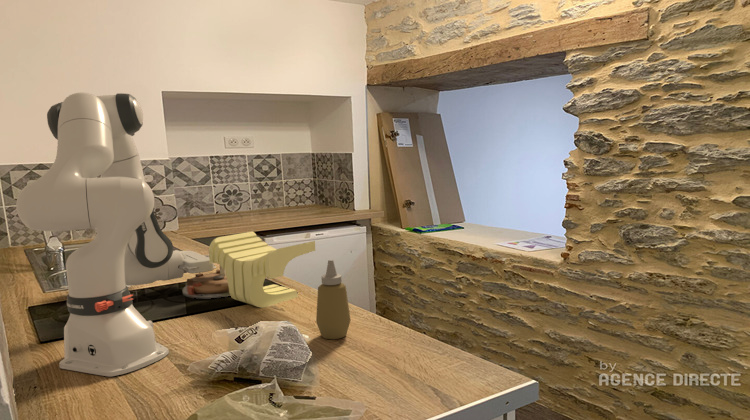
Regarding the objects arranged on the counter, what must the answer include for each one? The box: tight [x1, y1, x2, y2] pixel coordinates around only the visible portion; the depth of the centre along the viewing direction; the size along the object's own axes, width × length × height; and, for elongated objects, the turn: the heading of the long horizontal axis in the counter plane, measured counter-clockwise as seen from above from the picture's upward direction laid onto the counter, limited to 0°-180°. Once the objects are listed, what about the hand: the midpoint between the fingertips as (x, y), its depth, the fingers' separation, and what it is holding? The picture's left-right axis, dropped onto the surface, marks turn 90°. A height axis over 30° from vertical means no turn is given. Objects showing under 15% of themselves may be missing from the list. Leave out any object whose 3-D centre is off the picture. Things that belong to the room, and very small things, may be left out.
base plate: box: [182, 285, 230, 300], centre depth 163 cm, size 22×22×3 cm
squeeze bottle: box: [315, 259, 352, 340], centre depth 119 cm, size 8×8×18 cm
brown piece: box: [186, 264, 229, 294], centre depth 162 cm, size 19×19×14 cm
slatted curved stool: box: [208, 231, 316, 309], centre depth 149 cm, size 30×16×18 cm, turn 48°
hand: (217, 257), depth 168 cm, fingers closed
